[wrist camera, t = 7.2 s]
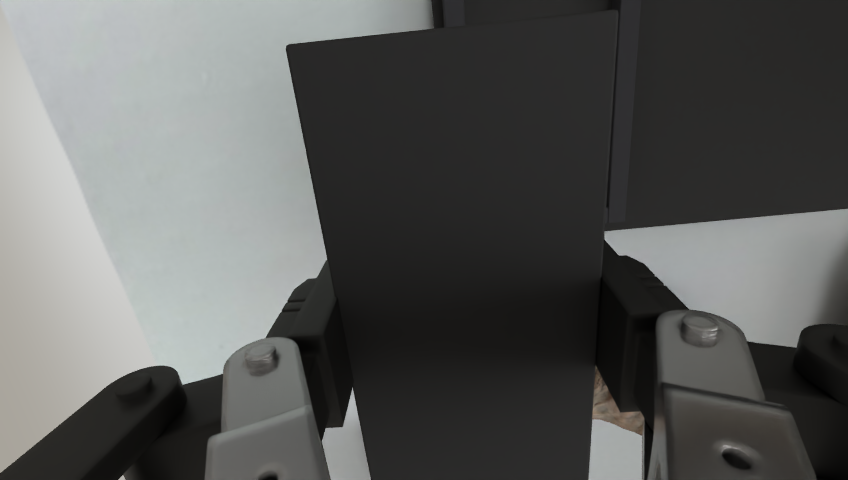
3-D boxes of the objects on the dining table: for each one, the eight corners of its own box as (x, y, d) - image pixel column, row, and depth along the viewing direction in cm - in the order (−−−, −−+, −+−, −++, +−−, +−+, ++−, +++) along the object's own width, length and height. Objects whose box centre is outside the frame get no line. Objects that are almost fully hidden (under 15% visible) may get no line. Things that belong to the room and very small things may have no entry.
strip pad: (324, 46, 10) (283, 44, 7) (568, 21, 10) (620, 8, 7) (390, 438, 15) (379, 527, 12) (557, 430, 14) (586, 519, 12)
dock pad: (452, 239, 29) (454, 253, 27) (423, -99, 22) (422, -115, 20) (1085, 180, 27) (1139, 190, 25) (1273, -211, 20) (1370, -241, 18)
